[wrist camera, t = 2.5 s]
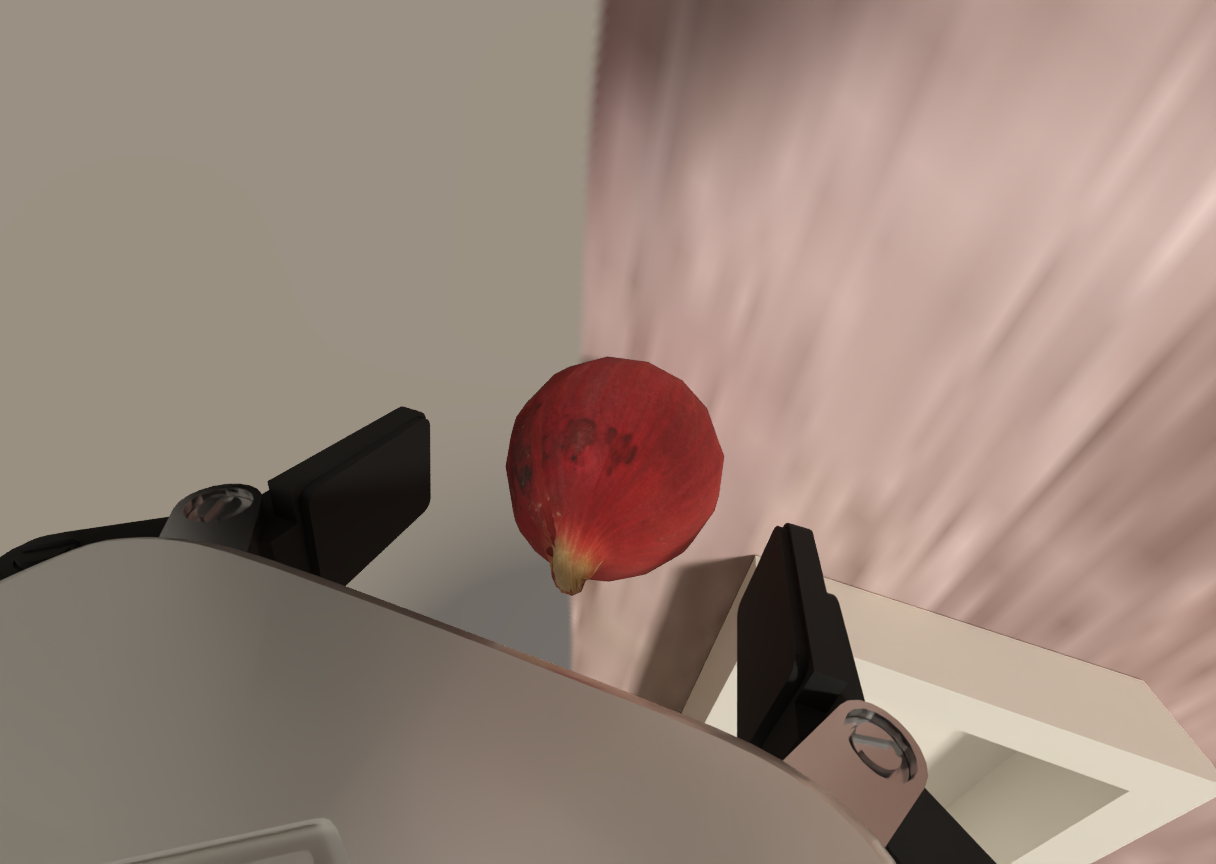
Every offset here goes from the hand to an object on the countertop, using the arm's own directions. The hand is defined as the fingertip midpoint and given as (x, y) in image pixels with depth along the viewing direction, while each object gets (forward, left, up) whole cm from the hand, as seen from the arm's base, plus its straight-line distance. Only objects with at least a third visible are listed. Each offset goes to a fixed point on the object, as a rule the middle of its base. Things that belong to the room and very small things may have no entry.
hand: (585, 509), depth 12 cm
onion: (-1, 0, -5) cm, 5 cm away
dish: (+10, +12, -5) cm, 17 cm away
